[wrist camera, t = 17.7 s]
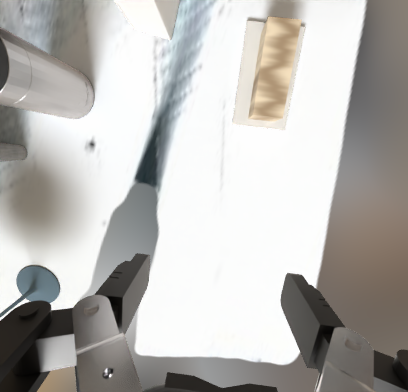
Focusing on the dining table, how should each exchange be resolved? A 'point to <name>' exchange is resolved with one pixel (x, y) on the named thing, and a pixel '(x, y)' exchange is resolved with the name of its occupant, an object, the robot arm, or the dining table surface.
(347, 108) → the dining table surface
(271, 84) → the birch block
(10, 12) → the dining table surface
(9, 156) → the hip flask
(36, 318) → the robot arm
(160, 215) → the dining table surface
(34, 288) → the cocktail glass
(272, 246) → the dining table surface
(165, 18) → the milk carton
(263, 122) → the white board
